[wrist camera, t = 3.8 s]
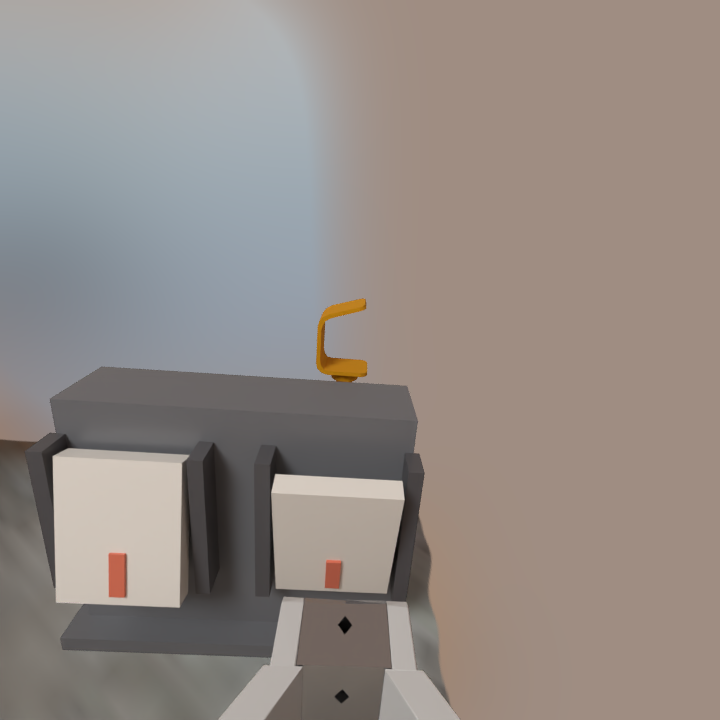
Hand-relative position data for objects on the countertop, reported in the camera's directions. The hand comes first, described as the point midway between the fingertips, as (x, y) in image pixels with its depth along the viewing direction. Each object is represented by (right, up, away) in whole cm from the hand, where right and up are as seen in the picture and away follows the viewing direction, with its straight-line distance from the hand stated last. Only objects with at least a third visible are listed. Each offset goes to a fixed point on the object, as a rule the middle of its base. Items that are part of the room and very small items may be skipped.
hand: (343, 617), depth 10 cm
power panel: (-9, -15, +27) cm, 32 cm away
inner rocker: (-16, -10, +18) cm, 26 cm away
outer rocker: (-2, -10, +21) cm, 23 cm away
